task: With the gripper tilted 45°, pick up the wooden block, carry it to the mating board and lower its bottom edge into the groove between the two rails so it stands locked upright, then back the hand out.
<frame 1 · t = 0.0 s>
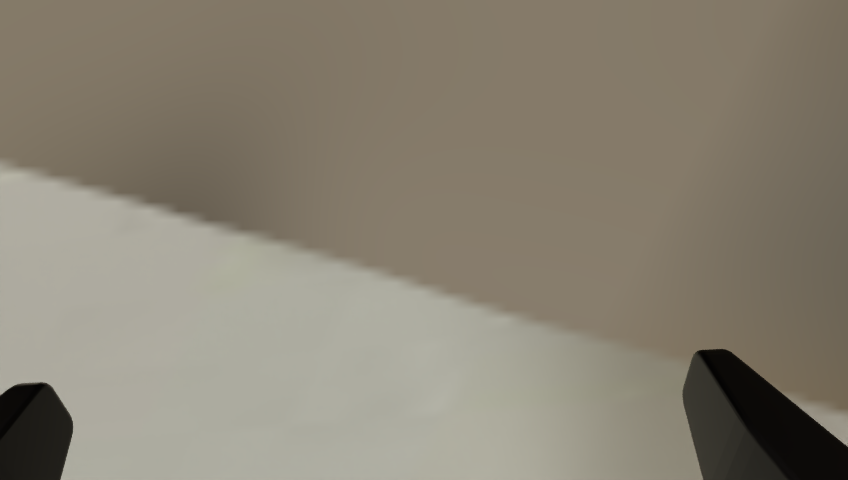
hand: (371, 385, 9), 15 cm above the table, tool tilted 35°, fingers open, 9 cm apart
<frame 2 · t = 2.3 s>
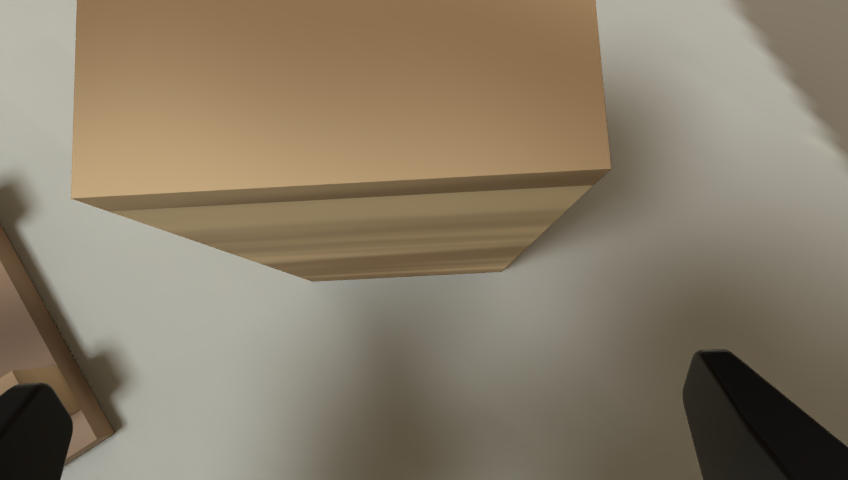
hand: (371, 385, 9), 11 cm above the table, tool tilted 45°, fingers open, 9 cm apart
wooden block: (404, 229, 20), on the table
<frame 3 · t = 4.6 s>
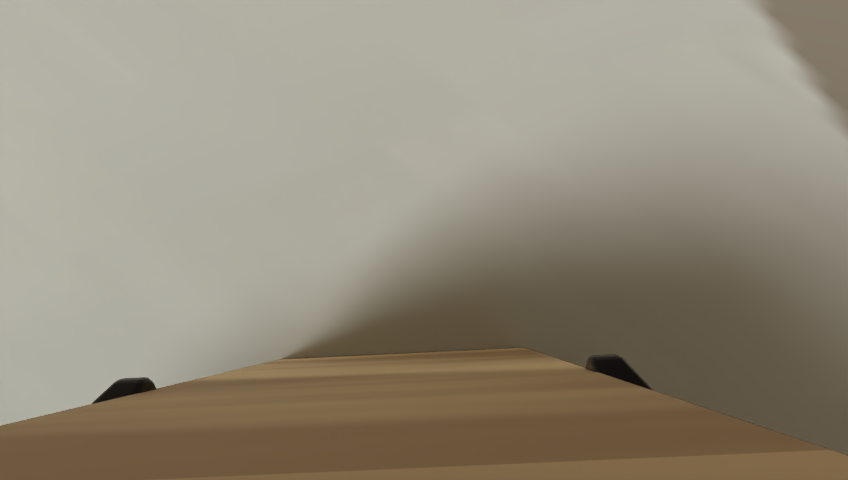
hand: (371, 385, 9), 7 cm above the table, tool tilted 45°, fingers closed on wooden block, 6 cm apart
wooden block: (404, 416, 15), on the table, touching gripper
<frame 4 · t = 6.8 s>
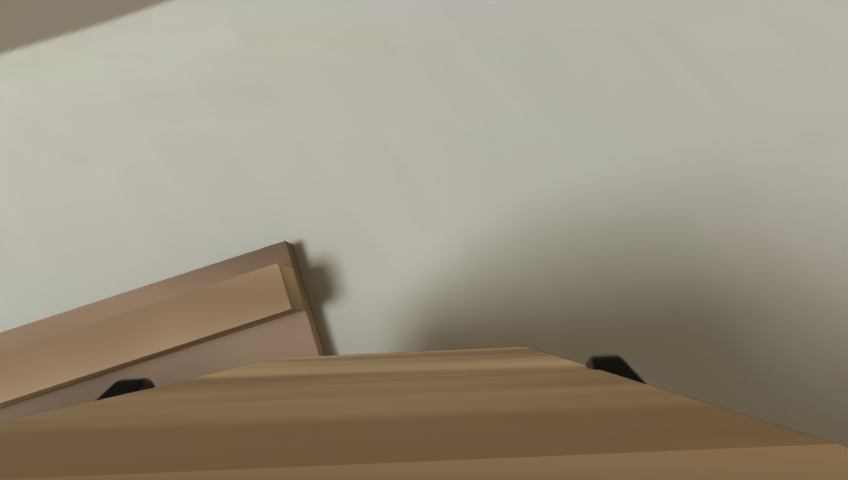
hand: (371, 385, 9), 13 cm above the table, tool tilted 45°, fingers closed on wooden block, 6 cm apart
wooden block: (405, 414, 15), point 7 cm above the table, touching gripper
mating board: (169, 430, 22), on the table
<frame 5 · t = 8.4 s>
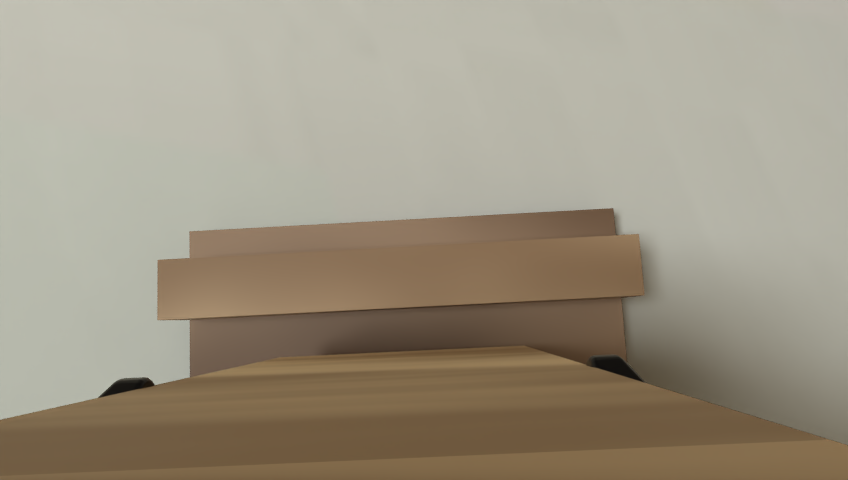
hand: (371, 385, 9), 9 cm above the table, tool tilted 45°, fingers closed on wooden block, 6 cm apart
wooden block: (404, 414, 15), point 3 cm above the table, touching gripper
mating board: (409, 396, 18), on the table
when the fingers open (9 cm above the table, at t = 9.4 s): wooden block drops 1 cm, resting on mating board.
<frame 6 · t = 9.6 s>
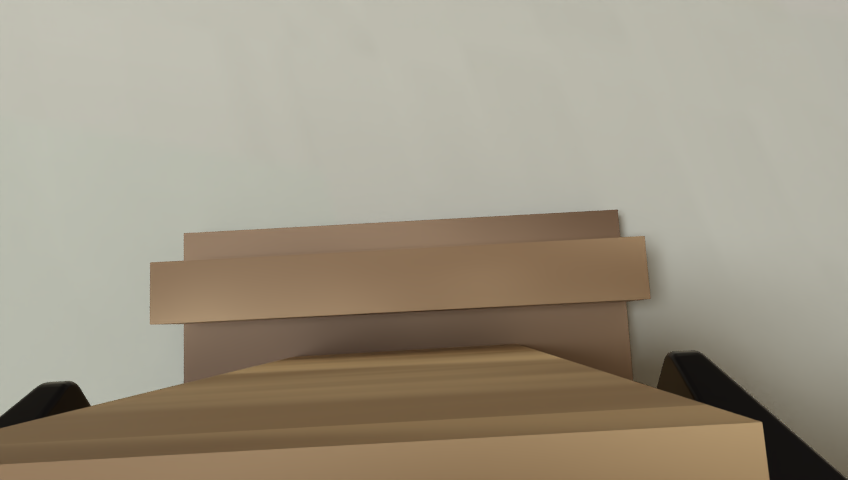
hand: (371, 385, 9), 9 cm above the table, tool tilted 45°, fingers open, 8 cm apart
wooden block: (407, 407, 17), point 1 cm above the table, touching mating board
mating board: (409, 402, 18), on the table
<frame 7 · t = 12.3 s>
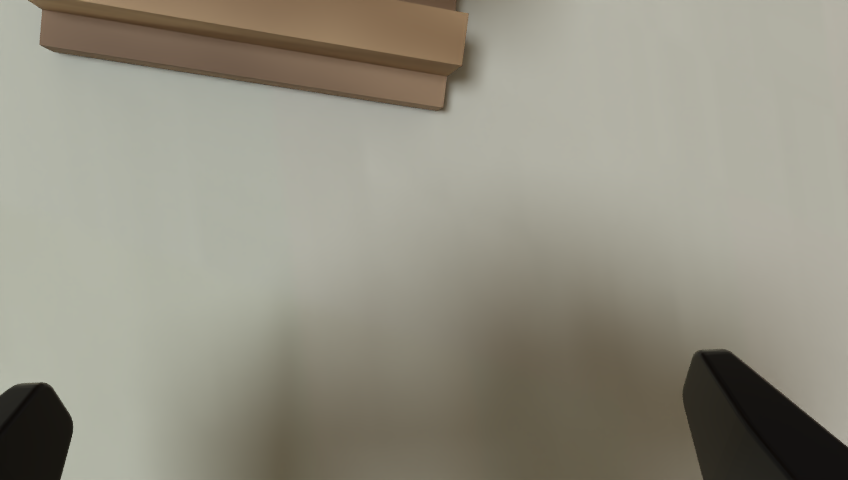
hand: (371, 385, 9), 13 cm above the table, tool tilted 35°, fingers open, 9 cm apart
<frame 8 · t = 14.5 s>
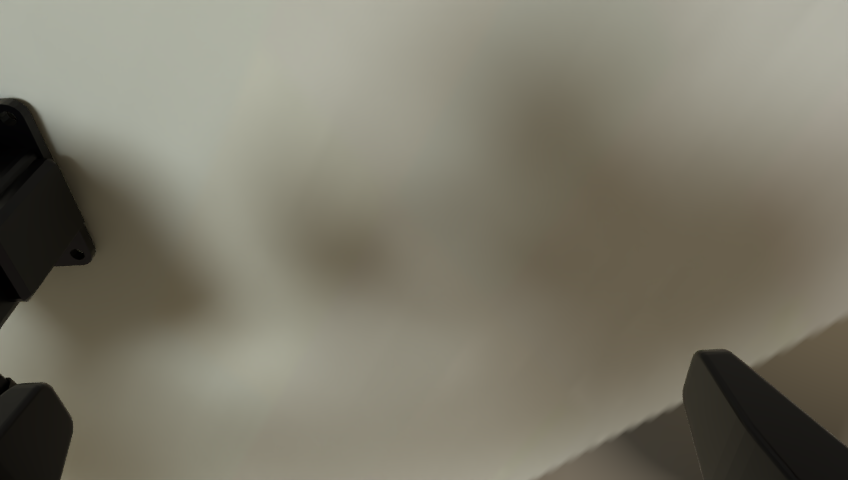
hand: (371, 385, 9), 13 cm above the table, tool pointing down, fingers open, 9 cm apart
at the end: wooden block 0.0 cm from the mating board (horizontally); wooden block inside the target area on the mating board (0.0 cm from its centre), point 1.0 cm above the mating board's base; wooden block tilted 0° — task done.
